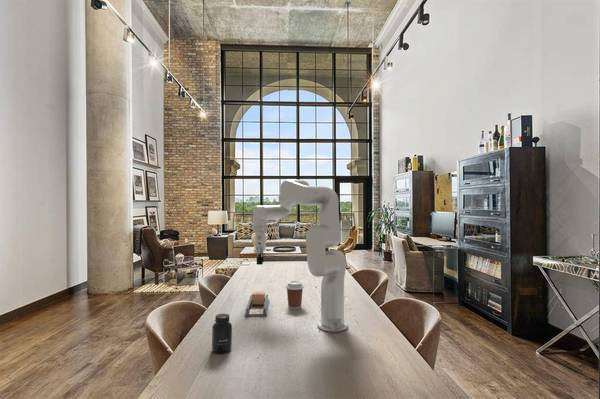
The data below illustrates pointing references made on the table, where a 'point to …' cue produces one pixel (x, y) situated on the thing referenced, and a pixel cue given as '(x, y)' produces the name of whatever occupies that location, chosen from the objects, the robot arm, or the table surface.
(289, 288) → the coffee cup
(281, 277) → the table surface
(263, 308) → the steel chute
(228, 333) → the supplement bottle
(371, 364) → the table surface
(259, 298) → the block
